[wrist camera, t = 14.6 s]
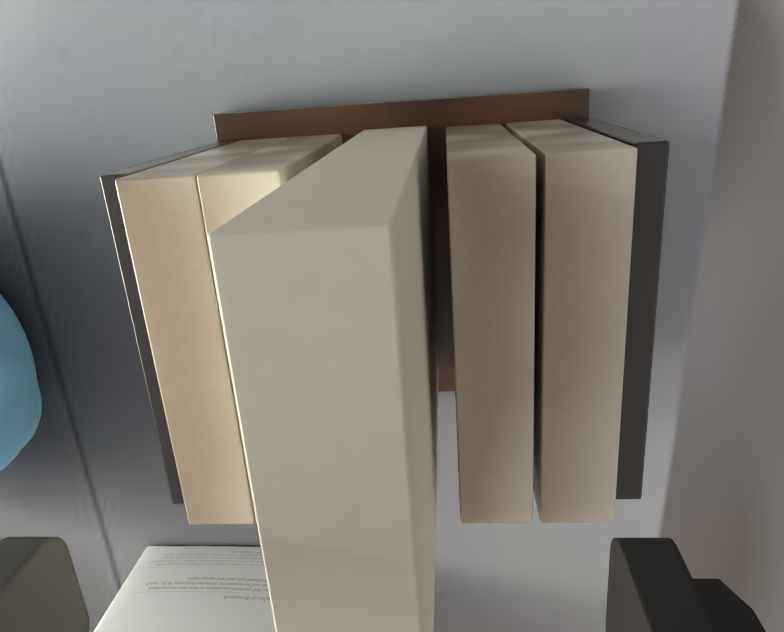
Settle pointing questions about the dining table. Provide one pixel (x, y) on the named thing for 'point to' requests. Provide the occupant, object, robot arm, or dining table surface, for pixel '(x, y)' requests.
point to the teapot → (16, 387)
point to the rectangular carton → (193, 592)
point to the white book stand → (452, 293)
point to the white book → (339, 383)
